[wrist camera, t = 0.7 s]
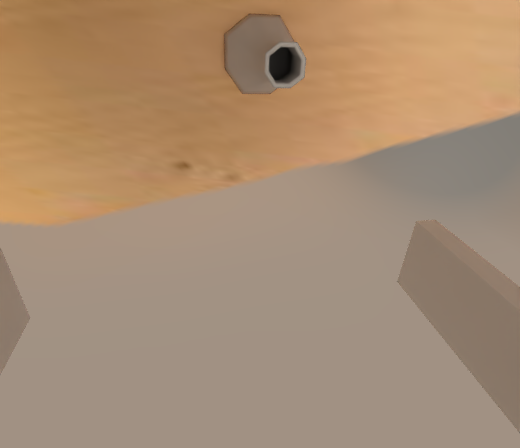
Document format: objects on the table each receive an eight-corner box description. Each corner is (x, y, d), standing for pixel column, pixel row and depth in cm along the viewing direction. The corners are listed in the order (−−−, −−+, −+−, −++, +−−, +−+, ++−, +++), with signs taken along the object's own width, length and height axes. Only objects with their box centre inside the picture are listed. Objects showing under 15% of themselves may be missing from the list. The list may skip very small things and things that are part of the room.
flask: (236, 104, 35) (252, 129, 26) (211, 26, 31) (221, 26, 22) (302, 81, 35) (340, 99, 26) (286, 1, 31) (323, -9, 23)
